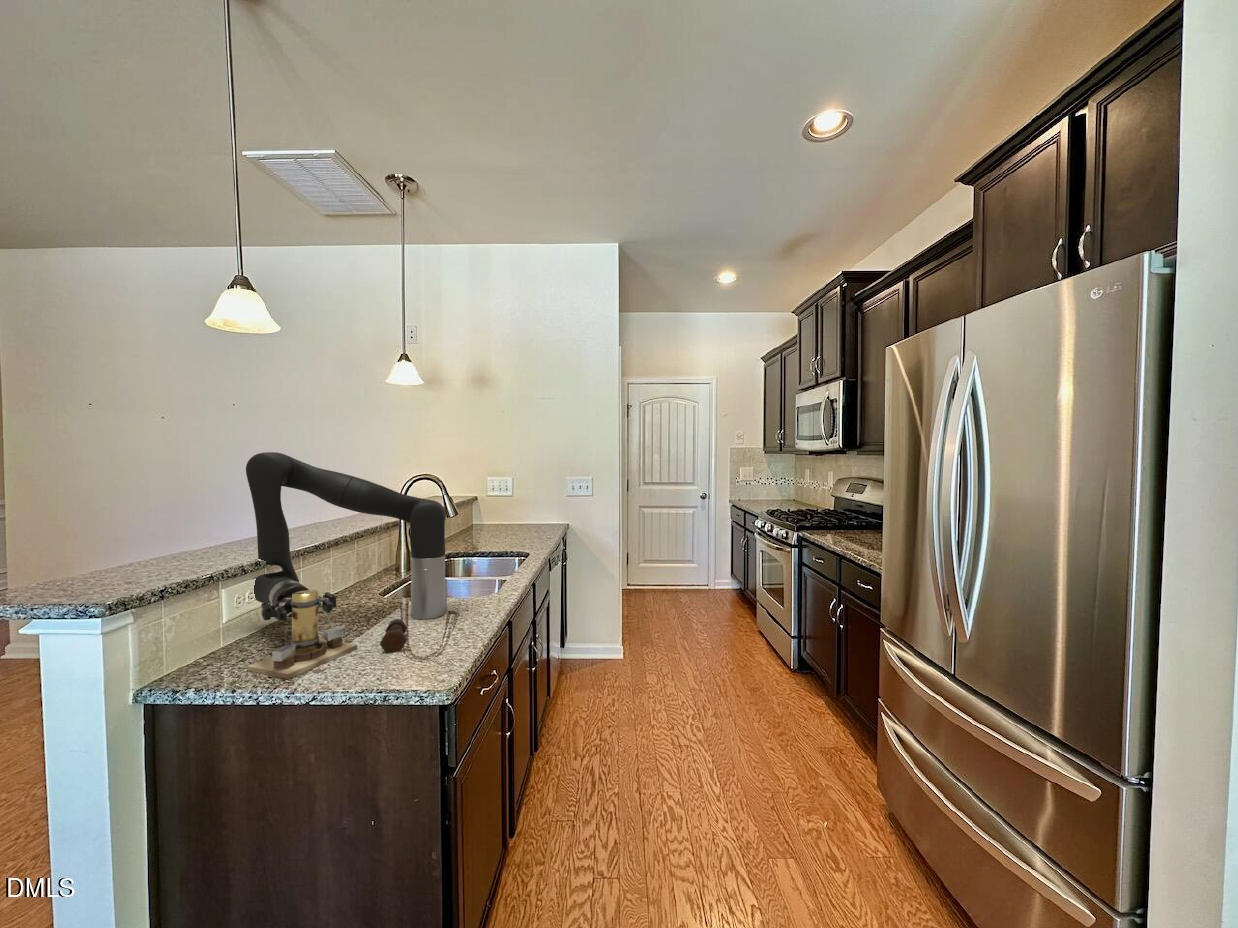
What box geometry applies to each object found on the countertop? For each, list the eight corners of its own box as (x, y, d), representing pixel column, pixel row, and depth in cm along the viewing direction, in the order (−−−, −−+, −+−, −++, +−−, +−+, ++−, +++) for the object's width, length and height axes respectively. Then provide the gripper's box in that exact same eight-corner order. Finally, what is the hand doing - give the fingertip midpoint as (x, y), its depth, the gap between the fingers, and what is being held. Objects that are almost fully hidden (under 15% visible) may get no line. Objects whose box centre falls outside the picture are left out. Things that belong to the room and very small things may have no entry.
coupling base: (320, 642, 119) (320, 630, 119) (357, 648, 115) (357, 636, 115) (247, 670, 103) (247, 656, 103) (287, 679, 99) (287, 664, 99)
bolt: (400, 638, 127) (396, 658, 113) (382, 630, 126) (376, 650, 112) (412, 617, 128) (410, 635, 114) (394, 610, 127) (389, 626, 113)
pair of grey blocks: (338, 633, 117) (338, 625, 117) (347, 635, 116) (347, 626, 116) (268, 660, 101) (268, 650, 101) (278, 662, 100) (278, 652, 100)
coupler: (307, 648, 112) (307, 588, 112) (324, 651, 111) (325, 591, 111) (284, 657, 107) (285, 594, 107) (302, 660, 105) (302, 597, 105)
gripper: (254, 587, 114) (268, 602, 102) (322, 577, 124) (343, 589, 113) (254, 619, 114) (268, 637, 102) (322, 606, 124) (342, 621, 113)
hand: (307, 612), depth 107 cm, fingers open, 8 cm apart
